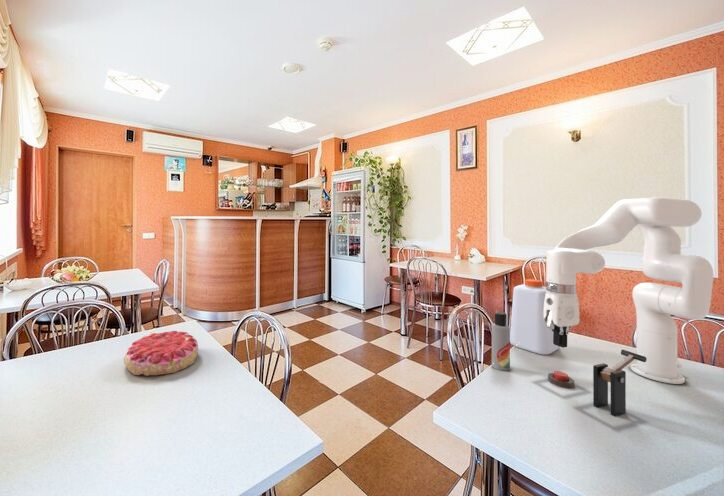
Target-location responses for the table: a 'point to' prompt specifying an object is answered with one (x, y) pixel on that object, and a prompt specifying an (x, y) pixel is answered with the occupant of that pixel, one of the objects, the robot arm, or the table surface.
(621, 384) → the bracket
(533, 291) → the plastic bottle
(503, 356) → the lotion bottle
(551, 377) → the button block
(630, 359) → the lever
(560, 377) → the button
